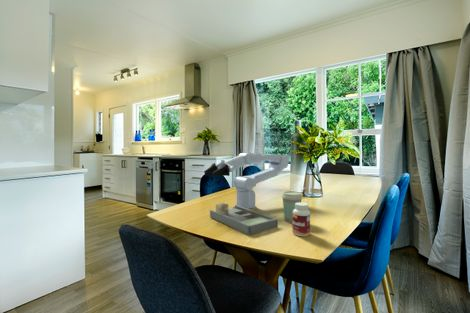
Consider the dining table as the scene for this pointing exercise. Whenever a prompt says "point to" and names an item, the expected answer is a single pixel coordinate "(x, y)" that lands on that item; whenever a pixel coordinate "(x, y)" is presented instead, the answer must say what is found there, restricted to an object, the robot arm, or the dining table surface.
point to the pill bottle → (301, 220)
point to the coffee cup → (290, 204)
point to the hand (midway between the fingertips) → (209, 174)
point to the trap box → (245, 220)
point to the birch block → (222, 208)
